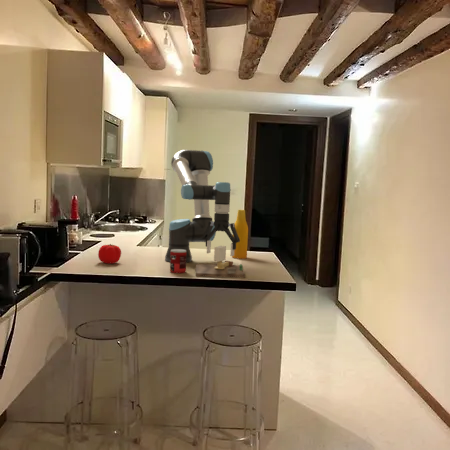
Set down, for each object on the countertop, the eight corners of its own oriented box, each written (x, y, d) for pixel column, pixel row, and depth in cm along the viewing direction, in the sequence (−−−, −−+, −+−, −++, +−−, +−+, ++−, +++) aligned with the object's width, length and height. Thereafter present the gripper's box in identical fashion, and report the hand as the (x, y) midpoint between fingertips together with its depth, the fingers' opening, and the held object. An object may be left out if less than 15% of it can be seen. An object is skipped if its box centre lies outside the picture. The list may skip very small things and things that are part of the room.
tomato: (98, 265, 244) (98, 245, 243) (97, 261, 255) (98, 242, 254) (121, 265, 247) (122, 245, 246) (120, 261, 258) (120, 242, 257)
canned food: (170, 270, 240) (170, 248, 239) (185, 270, 241) (186, 249, 239) (169, 273, 232) (170, 251, 231) (185, 273, 233) (186, 251, 232)
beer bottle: (235, 259, 279) (237, 210, 276) (229, 256, 288) (231, 209, 285) (249, 258, 283) (251, 210, 280) (243, 256, 291) (245, 209, 288)
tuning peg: (211, 268, 239) (212, 247, 237) (223, 264, 251) (224, 244, 249) (220, 270, 236) (221, 248, 235) (232, 266, 248) (233, 245, 247)
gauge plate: (195, 276, 228) (195, 268, 228) (195, 266, 252) (196, 259, 251) (244, 277, 229) (245, 269, 229) (240, 267, 253) (240, 260, 253)
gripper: (196, 211, 240) (195, 252, 242) (241, 214, 229) (239, 258, 231) (203, 210, 246) (202, 251, 248) (247, 214, 235) (245, 256, 237)
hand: (220, 254), depth 239 cm, fingers open, 13 cm apart
